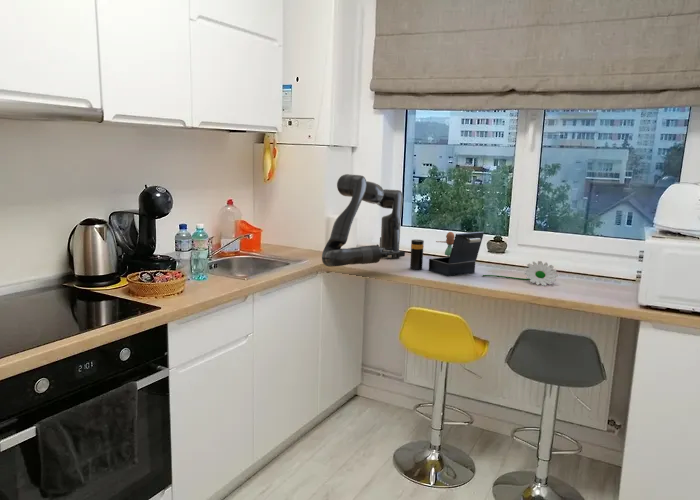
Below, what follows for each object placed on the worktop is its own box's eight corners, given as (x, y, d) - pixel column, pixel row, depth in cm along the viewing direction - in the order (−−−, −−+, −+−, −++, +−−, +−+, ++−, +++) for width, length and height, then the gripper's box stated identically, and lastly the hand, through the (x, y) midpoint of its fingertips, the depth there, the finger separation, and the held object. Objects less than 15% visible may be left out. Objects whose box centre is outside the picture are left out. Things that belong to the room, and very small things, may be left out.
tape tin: (407, 268, 241) (408, 239, 238) (417, 267, 244) (418, 239, 241) (415, 270, 236) (416, 241, 234) (424, 269, 239) (426, 241, 237)
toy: (462, 262, 257) (464, 231, 254) (463, 264, 252) (465, 233, 250) (434, 261, 258) (436, 230, 255) (434, 263, 254) (436, 231, 251)
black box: (428, 270, 238) (429, 258, 237) (454, 267, 246) (455, 256, 245) (447, 276, 227) (448, 264, 226) (474, 273, 235) (475, 261, 234)
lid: (455, 233, 221) (462, 237, 218) (482, 231, 229) (490, 235, 226) (448, 262, 226) (454, 267, 223) (474, 259, 235) (481, 264, 231)
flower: (483, 260, 232) (557, 259, 221) (484, 269, 236) (557, 268, 225) (480, 282, 223) (558, 282, 212) (482, 291, 226) (558, 291, 216)
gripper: (377, 248, 218) (408, 246, 226) (358, 243, 229) (389, 240, 238) (376, 266, 219) (408, 263, 227) (357, 260, 231) (388, 257, 239)
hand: (398, 251), depth 233 cm, fingers open, 8 cm apart
